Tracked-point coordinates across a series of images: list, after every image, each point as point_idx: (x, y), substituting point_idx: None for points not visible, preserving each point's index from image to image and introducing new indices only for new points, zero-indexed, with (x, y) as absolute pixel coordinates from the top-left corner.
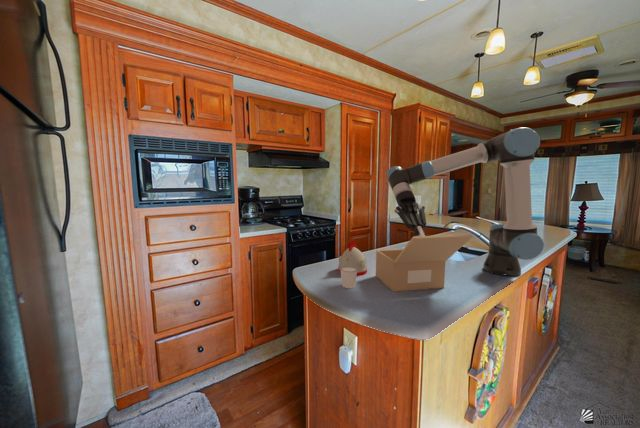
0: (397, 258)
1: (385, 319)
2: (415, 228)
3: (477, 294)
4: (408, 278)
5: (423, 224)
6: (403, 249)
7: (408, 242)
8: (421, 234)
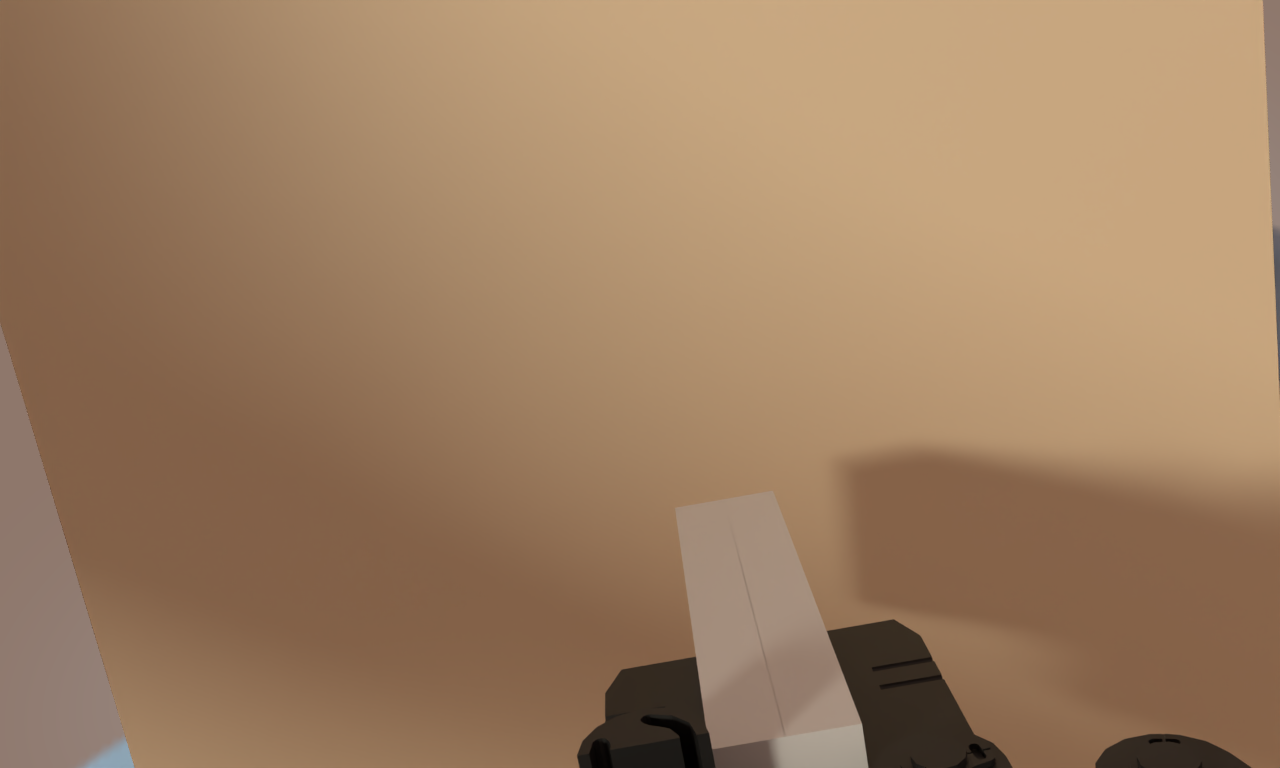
0: (1275, 621)
1: (1274, 234)
2: (934, 726)
3: (107, 755)
4: None
5: (605, 724)
6: (1271, 304)
7: (1263, 33)
8: (783, 565)
